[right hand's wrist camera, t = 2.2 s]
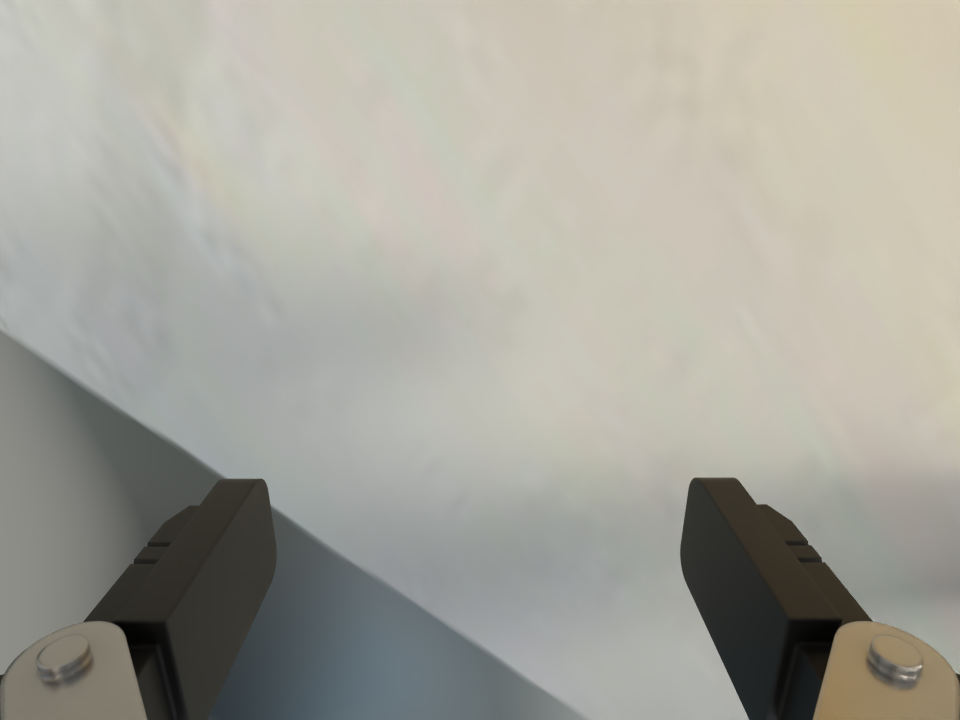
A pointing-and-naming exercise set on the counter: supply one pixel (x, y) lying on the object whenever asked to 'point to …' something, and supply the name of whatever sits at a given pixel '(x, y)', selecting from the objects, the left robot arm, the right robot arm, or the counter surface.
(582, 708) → the counter surface
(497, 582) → the counter surface
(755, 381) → the counter surface
